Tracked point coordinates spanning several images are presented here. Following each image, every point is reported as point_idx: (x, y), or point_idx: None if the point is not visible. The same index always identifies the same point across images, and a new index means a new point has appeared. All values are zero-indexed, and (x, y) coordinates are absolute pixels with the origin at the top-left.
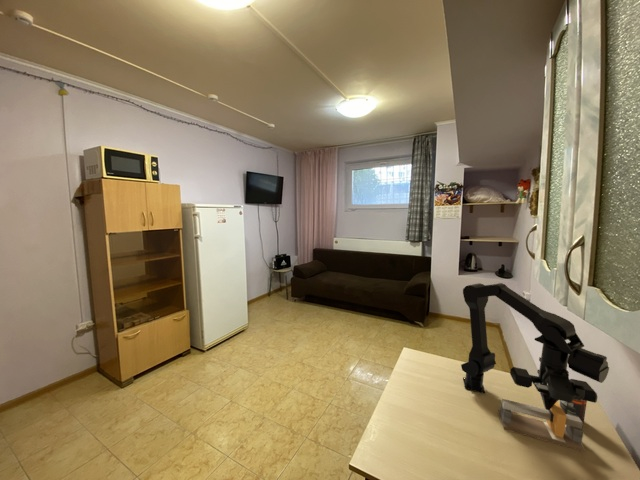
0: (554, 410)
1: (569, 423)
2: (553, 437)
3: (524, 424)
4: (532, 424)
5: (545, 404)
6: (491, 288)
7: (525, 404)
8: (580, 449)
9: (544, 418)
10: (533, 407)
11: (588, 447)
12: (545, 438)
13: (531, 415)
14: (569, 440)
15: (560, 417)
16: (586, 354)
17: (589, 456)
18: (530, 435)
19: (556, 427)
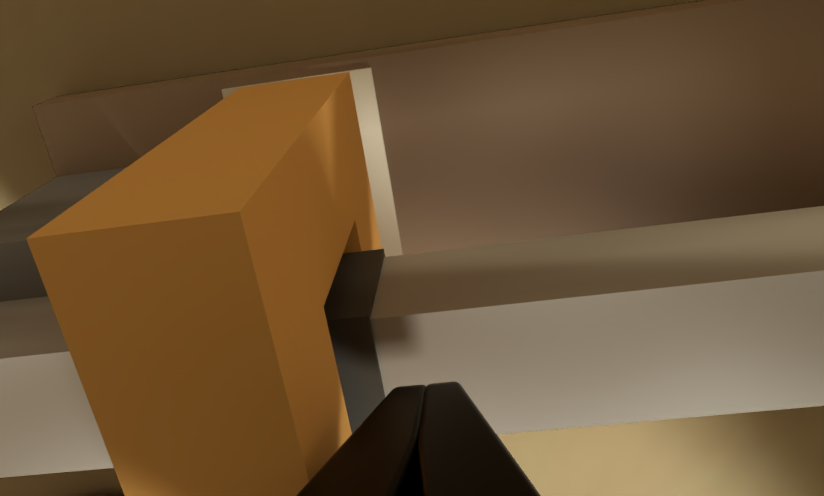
0: (297, 367)
1: None
2: (355, 102)
3: (684, 177)
4: (571, 234)
5: (501, 450)
6: None
7: (815, 399)
8: (81, 96)
9: (470, 252)
10: (670, 378)
11: (9, 201)
12: (457, 42)
13: (685, 225)
14: None
15: (196, 185)
16: None
17: (7, 41)
18: (640, 13)
19: (311, 105)
